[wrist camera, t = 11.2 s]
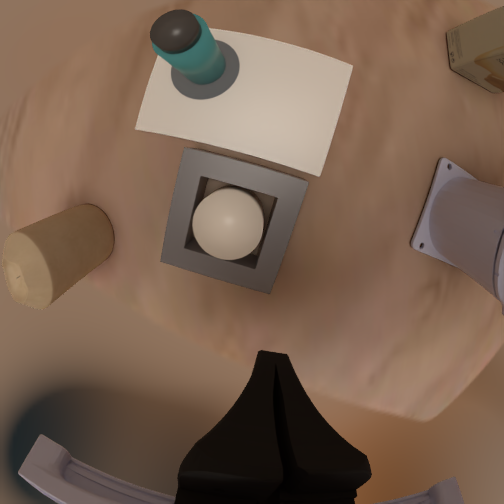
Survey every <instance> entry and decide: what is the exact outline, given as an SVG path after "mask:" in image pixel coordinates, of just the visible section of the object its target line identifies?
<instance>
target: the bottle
mask: <svg viewBox="0 0 504 504" xmlns="http://www.w3.org/2000/svg"><path fill="white" fill-rule="evenodd" d="M150 38H151V41H152V46H153V49H154V51H155V52H156V53H157V54H158V55H159V56H160V57H162V58H163V59H164V60H165V61H167V62H168V63H169V64H170V65H172V66H173V67H174V68H175V69H177V70H178V71H179V72H180V73H181V74H183V75H184V76H185V77H186V78H187V79H189V80H190V81H191V82H193V83H195V84H199V85H205V84H210V83H212V82H214V81H216V80H217V79H219V78H220V77H221V76H222V74H223V73H224V71H225V67H226V61H225V58H224V56H223V54H222V52H221V50H220V49H219V47H218V45H217V43H216V41H215V39H214V37H213V35H212V33H211V32H210V30H209V28H208V26H207V24H206V22H205V21H204V20H203V19H202V18H201V17H200V16H198V15H195V14H192V13H191V12H189V11H187V10H173V11H170V12H167V13H165V14H164V15H162V16H161V17H159V18H158V19H157V20H156V21H155V23H154V24H153V26H152V28H151V31H150Z"/></svg>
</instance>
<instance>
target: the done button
mask: <svg viewBox="0 0 504 504" xmlns="http://www.w3.org/2000/svg"><path fill="white" fill-rule="evenodd" d="M263 223H264V211H263V207H262V204H261V202H260V200H259V199H258V197H257V196H256V195H255V194H254V193H253V192H252V191H250V190H249V189H247V188H244V187H240V186H236V185H229V186H225V187H221V188H219V189H217V190H216V191H214V192H213V193H212V194H210V195H209V196H207V197H206V198H205V199H204V200H203V201H201V203H200V204H199V205H198V207H197V208H196V210H195V213H194V216H193V224H192V226H193V232H194V236H195V238H196V240H197V242H198V244H199V245H200V246H201V248H202V249H203V250H204V251H206V252H207V253H208V254H210V255H212V256H214V257H216V258H219V259H224V260H234V259H239V258H242V257H244V256H246V255H248V254H249V253H251V252H252V251H253V250H254V249H255V248H256V246H257V245H258V243H259V242H260V239H261V237H262V233H263Z"/></svg>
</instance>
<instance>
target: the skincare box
mask: <svg viewBox="0 0 504 504" xmlns="http://www.w3.org/2000/svg"><path fill="white" fill-rule="evenodd" d="M447 41H448V50H449V58H450V67H451V69H452V70H454V71H455V72H457V73H459V74H461V75H462V76H464V77H466V78H468V79H470V80H471V81H473V82H475V83H476V84H478V85H480V86H482V87H484V88H485V89H487V90H489V91H490V92H492V93H500V92H504V6H502V7H500V8H497V9H495V10H493V11H490V12H488V13H486V14H483V15H481V16H479V17H477V18H474V19H472V20H470V21H468V22H466V23H464V24H462V25H460V26H458V27H456V28H454V29H452V30H450V31H448V32H447Z"/></svg>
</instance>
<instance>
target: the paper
mask: <svg viewBox="0 0 504 504" xmlns="http://www.w3.org/2000/svg"><path fill="white" fill-rule="evenodd" d="M209 30H210V32H211V33H212V35H213V37H214V39H215V41H216V43H217V45H218V47H219V49H220V50H221V52H222V54H223V56H224V58H225V61H226V67H225V71H224V73H223V74H222V76H221V77H220V78H219V79H217V80H216V81H214V82H212V83H210V84H205V85H199V84H195V83H193V82H191V81H190V80H189V79H187V78H186V77H185V76H184V75H183V74H181V73H180V72H179V71H178V70H177V69H175V68H174V67H173V66H172V65H170V64H169V63H168V62H167V61H165V60H164V59H163V58H162V57H160V56H159V55H158V57H157V59H156V62H155V65H154V68H153V71H152V73H151V76H150V79H149V82H148V86H147V89H146V92H145V95H144V99H143V102H142V105H141V109H140V112H139V116H138V120H137V124H136V128H135V129H136V130H142V131H148V132H153V133H159V134H164V135H169V136H174V137H179V138H183V139H188V140H192V141H197V142H201V143H206V144H210V145H214V146H218V147H222V148H226V149H230V150H233V151H237V152H241V153H245V154H248V155H252V156H255V157H259V158H262V159H266V160H269V161H272V162H275V163H279V164H282V165H285V166H288V167H291V168H294V169H298V170H301V171H304V172H307V173H309V174H312V175H315V176H318V177H320V175H321V172H322V169H323V166H324V163H325V159H326V156H327V153H328V150H329V147H330V144H331V140H332V137H333V134H334V131H335V127H336V124H337V121H338V117H339V114H340V111H341V107H342V104H343V101H344V97H345V94H346V90H347V87H348V83H349V79H350V76H351V72H352V68H353V66H352V65H350V64H347V63H345V62H342V61H340V60H337V59H334V58H332V57H329V56H326V55H323V54H320V53H317V52H314V51H311V50H308V49H305V48H302V47H298V46H295V45H292V44H288V43H284V42H280V41H276V40H272V39H268V38H264V37H259V36H254V35H249V34H244V33H239V32H233V31H226V30H219V29H212V28H209Z"/></svg>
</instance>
